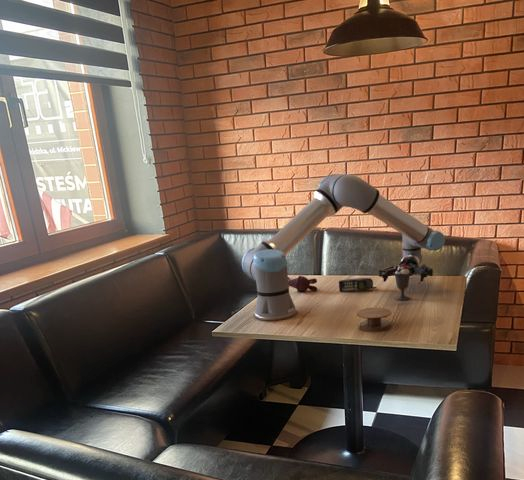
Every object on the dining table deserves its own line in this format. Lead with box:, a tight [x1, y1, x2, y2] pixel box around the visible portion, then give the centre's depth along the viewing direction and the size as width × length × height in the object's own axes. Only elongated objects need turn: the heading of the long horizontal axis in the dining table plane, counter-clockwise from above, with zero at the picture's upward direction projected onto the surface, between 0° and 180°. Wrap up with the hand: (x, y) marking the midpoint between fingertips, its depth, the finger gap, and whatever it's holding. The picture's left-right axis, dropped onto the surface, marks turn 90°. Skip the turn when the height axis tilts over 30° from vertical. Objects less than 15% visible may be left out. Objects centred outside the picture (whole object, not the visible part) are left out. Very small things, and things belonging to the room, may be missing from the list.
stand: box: [356, 307, 392, 333], centre depth 174 cm, size 11×11×5 cm
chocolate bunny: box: [288, 275, 318, 293], centre depth 227 cm, size 7×7×15 cm
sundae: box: [393, 260, 412, 302], centre depth 199 cm, size 7×7×15 cm
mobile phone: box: [338, 277, 377, 293], centre depth 218 cm, size 5×3×15 cm
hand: (402, 277), depth 200 cm, fingers open, 13 cm apart
